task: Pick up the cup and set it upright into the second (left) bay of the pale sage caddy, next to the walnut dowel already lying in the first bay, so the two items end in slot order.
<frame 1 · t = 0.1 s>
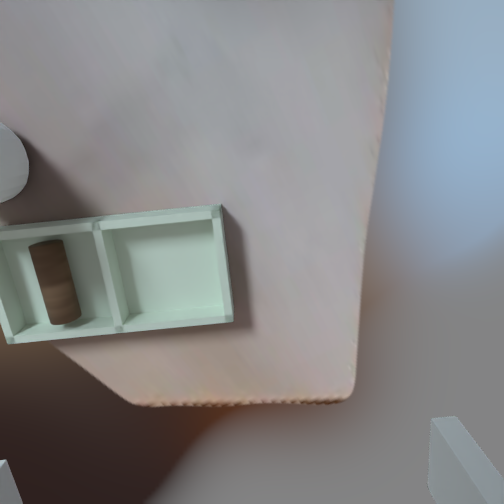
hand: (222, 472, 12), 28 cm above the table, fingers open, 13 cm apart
dowel: (63, 276, 39), resting on caddy
caddy: (118, 269, 39), on the table
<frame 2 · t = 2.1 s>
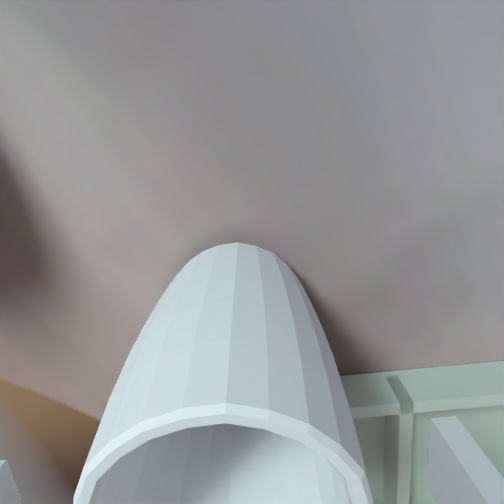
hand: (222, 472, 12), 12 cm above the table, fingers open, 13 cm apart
caddy: (387, 440, 27), on the table
cup: (237, 296, 23), on the table
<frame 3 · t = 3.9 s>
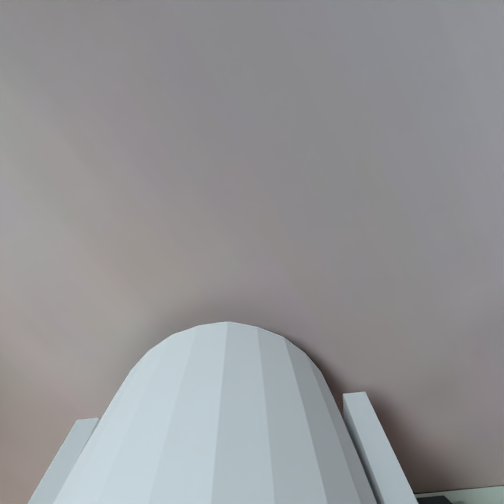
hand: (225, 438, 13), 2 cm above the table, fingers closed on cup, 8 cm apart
cup: (228, 390, 15), on the table, touching gripper
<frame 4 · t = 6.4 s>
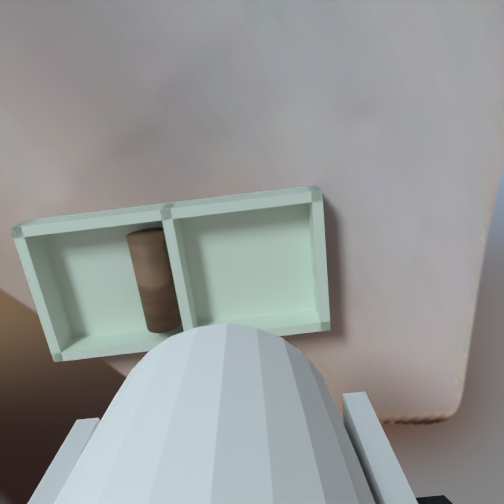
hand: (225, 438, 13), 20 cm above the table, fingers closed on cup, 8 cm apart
dowel: (139, 286, 29), point 3 cm above the table, tilted 136°, touching caddy
caddy: (184, 268, 32), on the table
cup: (227, 391, 15), point 17 cm above the table, touching gripper
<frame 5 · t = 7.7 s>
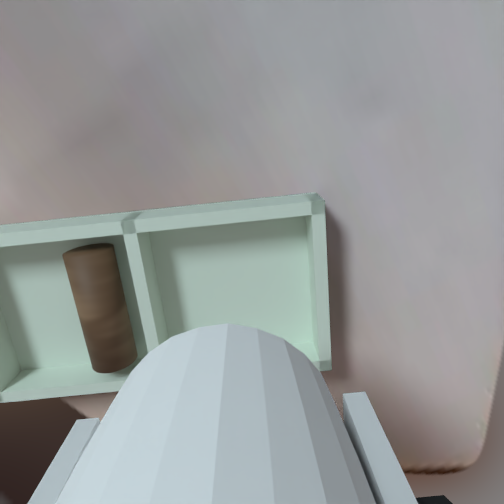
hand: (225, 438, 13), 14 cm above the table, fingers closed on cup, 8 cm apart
dowel: (79, 311, 24), point 2 cm above the table, tilted 96°, touching caddy
caddy: (156, 290, 26), on the table
cup: (228, 392, 15), point 11 cm above the table, touching gripper
when the fingers open (5 cm above the table, at t = 10.1 s): cup drops 2 cm, resting on caddy.
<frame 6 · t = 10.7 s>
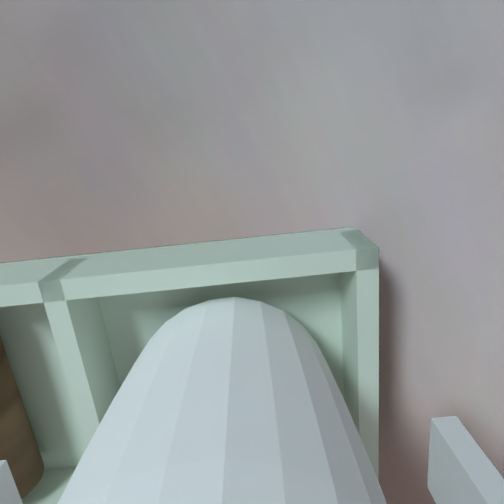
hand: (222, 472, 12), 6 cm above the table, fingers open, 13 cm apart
caddy: (112, 370, 18), on the table
cup: (233, 362, 17), resting on caddy
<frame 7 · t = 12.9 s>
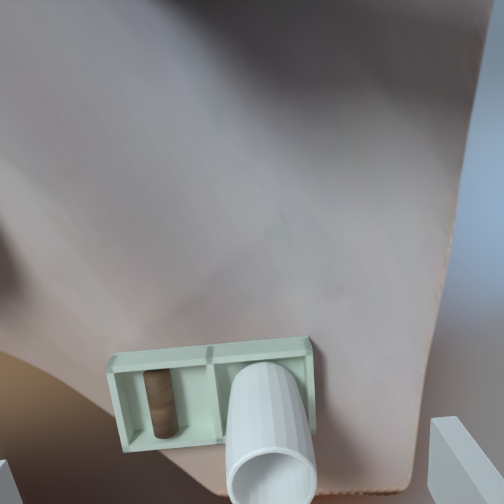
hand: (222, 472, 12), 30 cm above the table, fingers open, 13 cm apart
dowel: (169, 394, 45), point 1 cm above the table, tilted 29°, touching caddy
caddy: (216, 386, 46), on the table
cup: (263, 383, 46), resting on caddy
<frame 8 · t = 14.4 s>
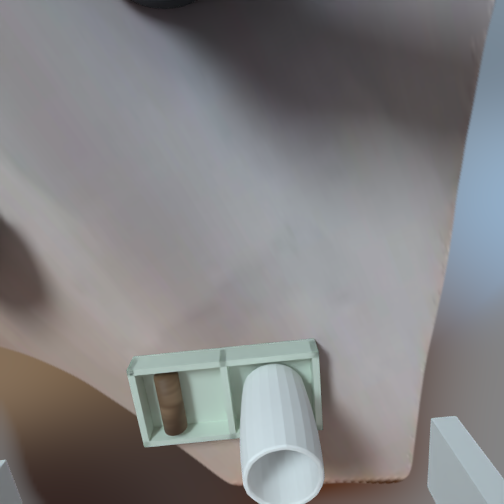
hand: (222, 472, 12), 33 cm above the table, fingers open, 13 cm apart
dowel: (182, 397, 48), point 1 cm above the table, tilted 66°, touching caddy
caddy: (228, 385, 49), on the table
cup: (272, 382, 49), resting on caddy
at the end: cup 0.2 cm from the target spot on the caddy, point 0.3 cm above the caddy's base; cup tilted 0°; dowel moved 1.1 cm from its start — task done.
